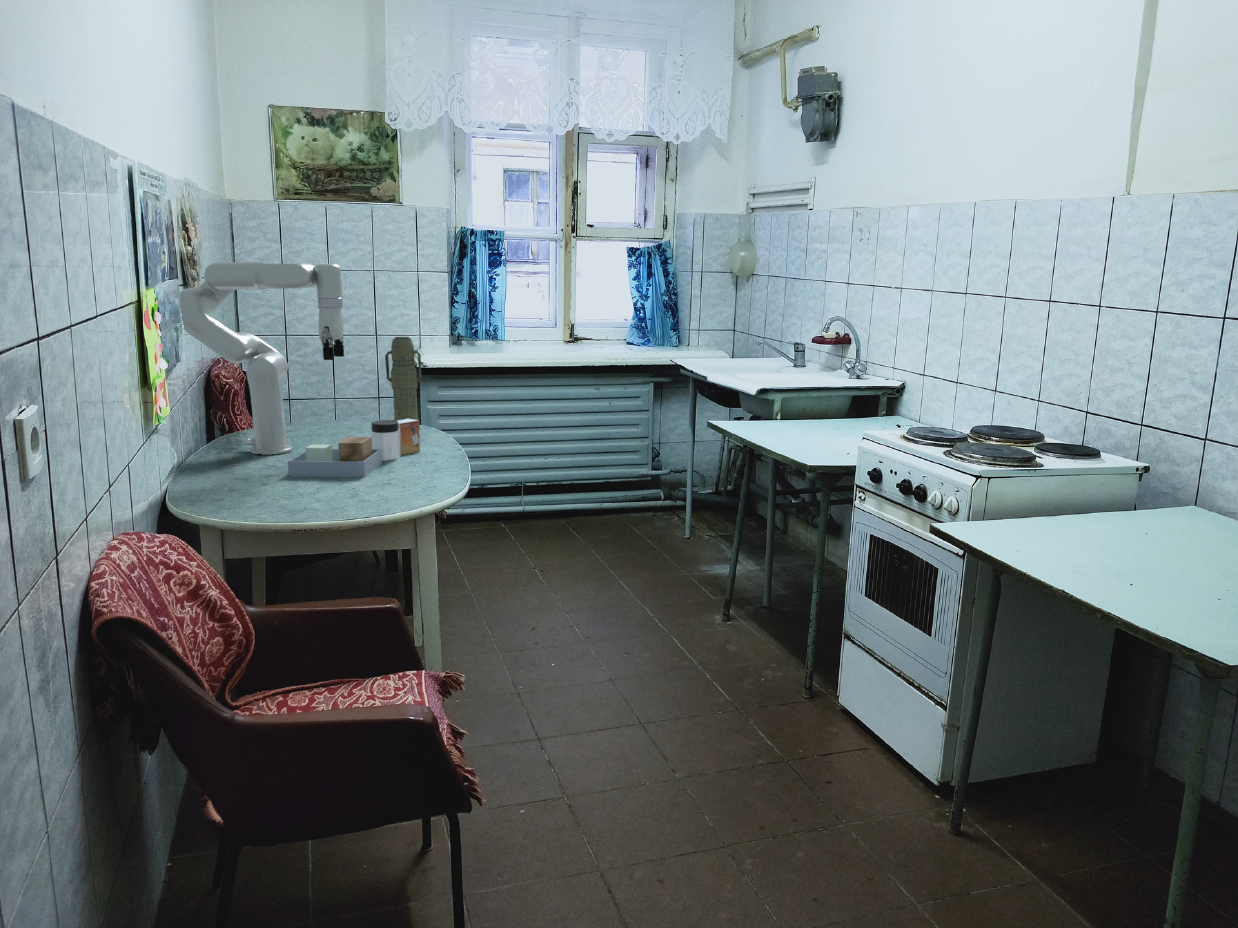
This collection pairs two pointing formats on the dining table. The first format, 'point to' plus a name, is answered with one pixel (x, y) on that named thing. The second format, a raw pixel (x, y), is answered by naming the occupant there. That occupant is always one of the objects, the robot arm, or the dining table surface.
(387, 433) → the jar
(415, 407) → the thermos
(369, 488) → the dining table surface
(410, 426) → the small box
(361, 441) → the walnut block
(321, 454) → the pale green block
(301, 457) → the box
